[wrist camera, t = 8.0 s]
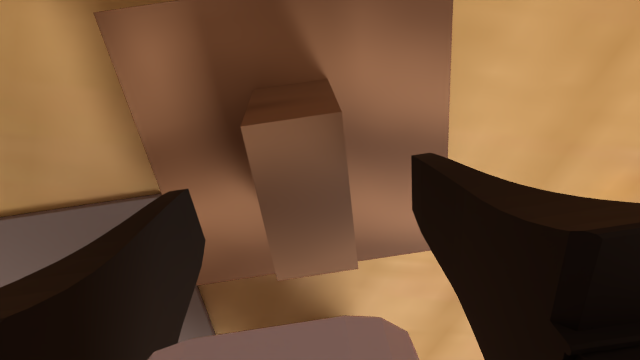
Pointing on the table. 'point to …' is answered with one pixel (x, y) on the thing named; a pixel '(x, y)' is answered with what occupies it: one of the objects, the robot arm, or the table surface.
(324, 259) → the lid
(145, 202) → the mat
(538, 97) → the table surface
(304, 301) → the table surface
